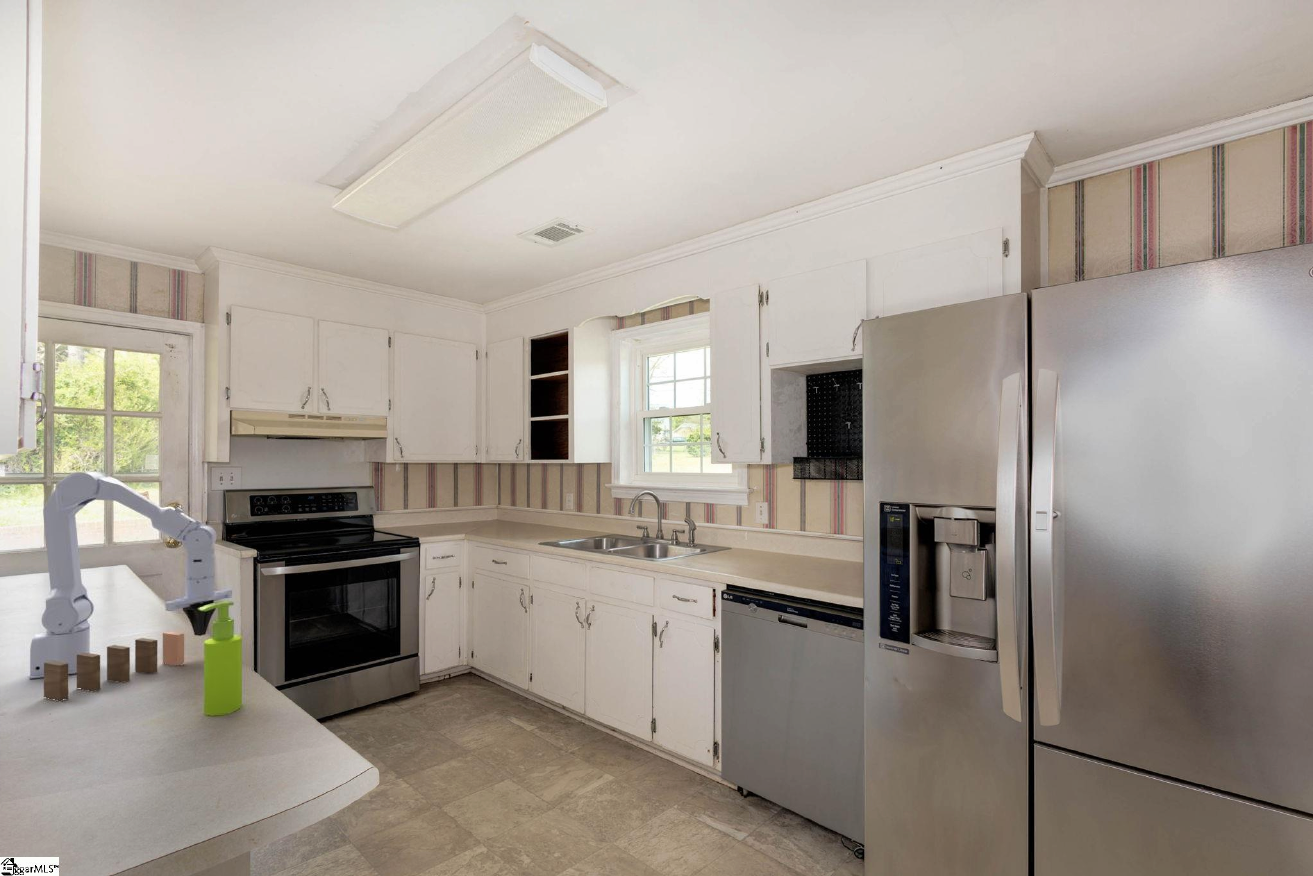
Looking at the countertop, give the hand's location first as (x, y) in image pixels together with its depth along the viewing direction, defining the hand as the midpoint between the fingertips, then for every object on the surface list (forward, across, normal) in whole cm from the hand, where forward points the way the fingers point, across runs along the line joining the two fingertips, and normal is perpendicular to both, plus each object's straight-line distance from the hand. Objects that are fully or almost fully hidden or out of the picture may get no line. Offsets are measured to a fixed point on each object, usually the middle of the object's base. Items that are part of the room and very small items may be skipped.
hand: (200, 634), depth 156 cm
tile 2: (+5, -12, 0) cm, 13 cm away
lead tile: (+5, -6, 0) cm, 8 cm away
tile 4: (+5, -23, 0) cm, 23 cm away
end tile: (+5, -28, 0) cm, 29 cm away
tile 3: (+5, -17, 0) cm, 18 cm away
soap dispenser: (+5, -22, -37) cm, 43 cm away
